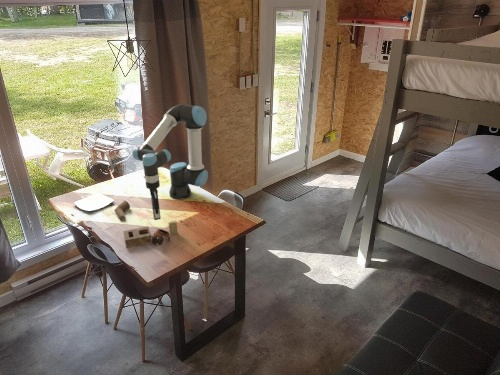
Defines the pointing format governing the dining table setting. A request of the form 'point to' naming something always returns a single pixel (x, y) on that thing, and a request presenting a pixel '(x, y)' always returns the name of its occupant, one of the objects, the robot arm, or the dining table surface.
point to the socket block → (137, 237)
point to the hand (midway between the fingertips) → (156, 215)
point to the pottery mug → (160, 236)
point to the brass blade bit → (173, 227)
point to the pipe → (122, 209)
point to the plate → (94, 202)
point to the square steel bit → (153, 210)
